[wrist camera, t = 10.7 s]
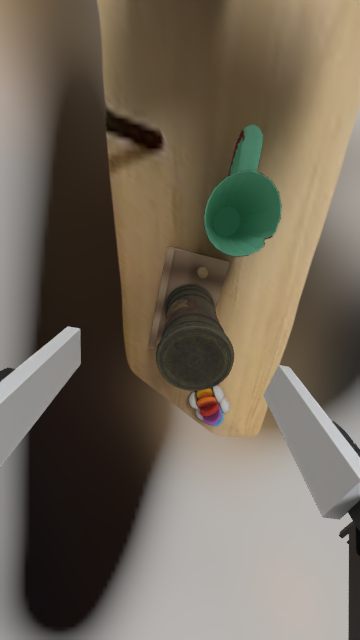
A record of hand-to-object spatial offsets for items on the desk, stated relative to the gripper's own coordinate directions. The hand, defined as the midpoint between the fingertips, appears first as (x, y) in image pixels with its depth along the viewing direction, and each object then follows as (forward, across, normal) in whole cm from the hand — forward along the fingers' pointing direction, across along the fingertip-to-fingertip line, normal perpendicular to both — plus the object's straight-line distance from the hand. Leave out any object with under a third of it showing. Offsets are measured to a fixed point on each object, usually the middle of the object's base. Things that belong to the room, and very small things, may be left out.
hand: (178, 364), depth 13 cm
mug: (+28, +5, +13) cm, 31 cm away
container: (+24, +2, -5) cm, 25 cm away
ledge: (+27, +2, -5) cm, 28 cm away
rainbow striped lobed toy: (+27, +13, -29) cm, 42 cm away
